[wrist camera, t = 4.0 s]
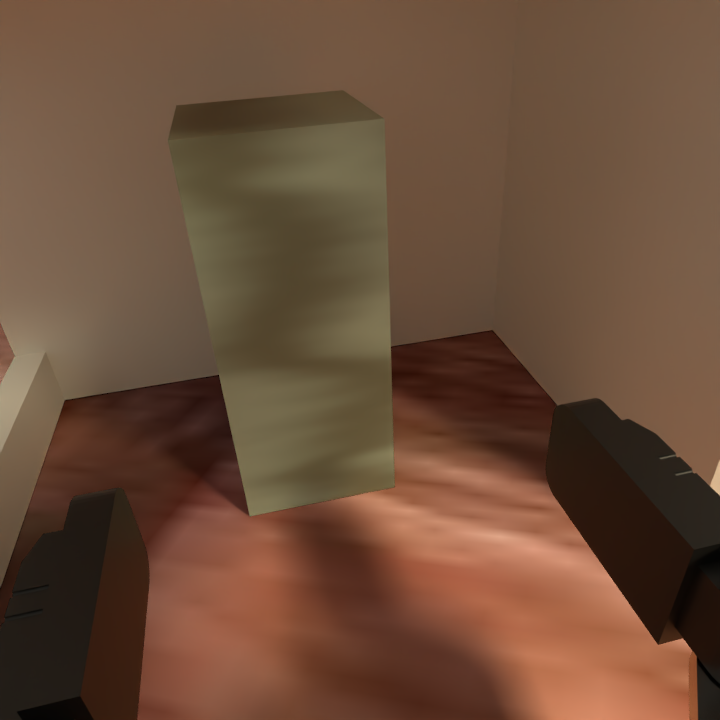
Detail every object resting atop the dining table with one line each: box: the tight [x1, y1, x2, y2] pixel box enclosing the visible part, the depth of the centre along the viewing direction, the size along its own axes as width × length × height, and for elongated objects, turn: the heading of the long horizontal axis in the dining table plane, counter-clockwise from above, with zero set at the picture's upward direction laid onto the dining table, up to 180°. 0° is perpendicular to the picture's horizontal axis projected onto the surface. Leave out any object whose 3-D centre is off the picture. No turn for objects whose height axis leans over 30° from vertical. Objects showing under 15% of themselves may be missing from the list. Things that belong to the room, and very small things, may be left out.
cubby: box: [0, 0, 720, 588], centre depth 17 cm, size 22×15×19 cm
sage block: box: [168, 90, 395, 516], centre depth 19 cm, size 5×5×12 cm
